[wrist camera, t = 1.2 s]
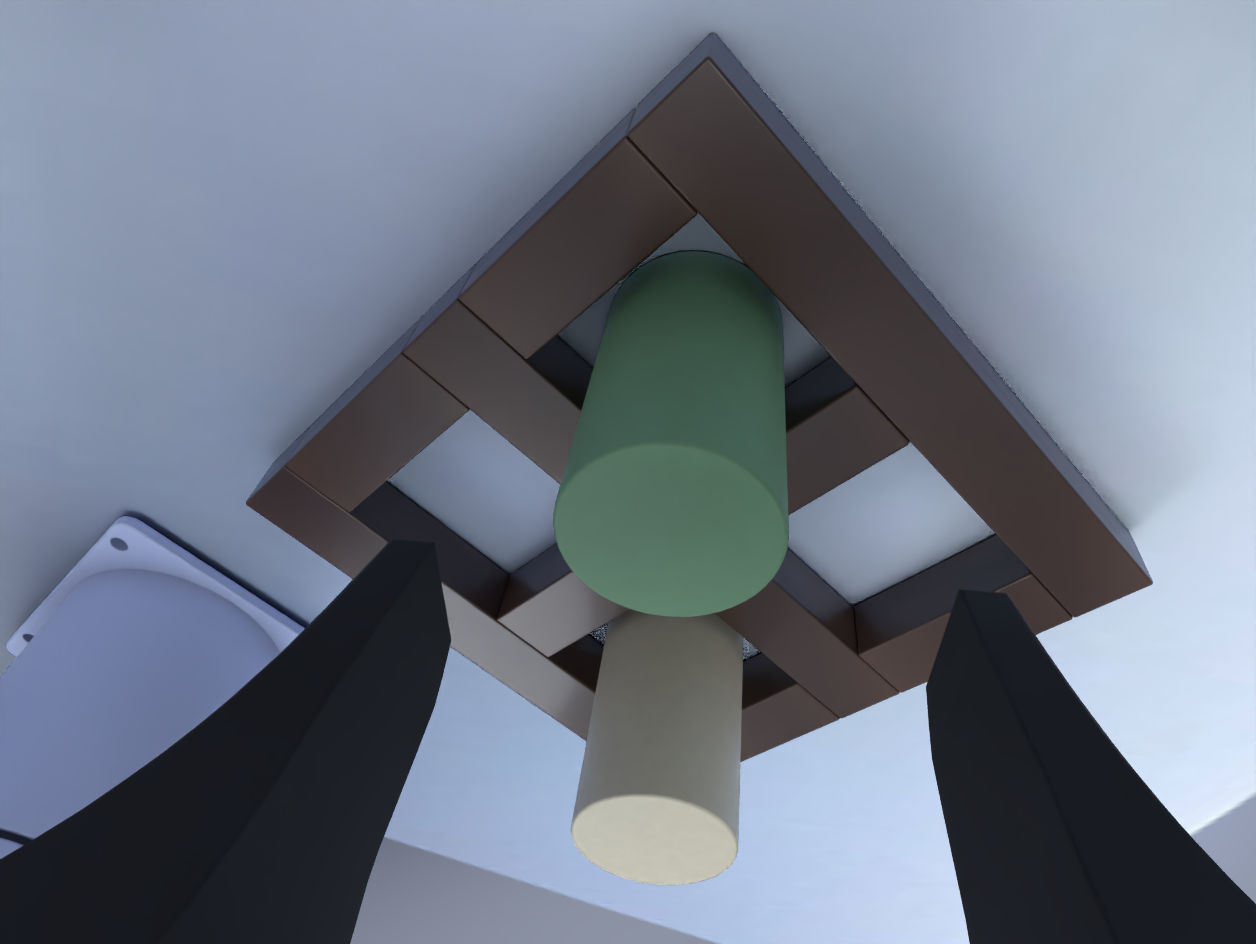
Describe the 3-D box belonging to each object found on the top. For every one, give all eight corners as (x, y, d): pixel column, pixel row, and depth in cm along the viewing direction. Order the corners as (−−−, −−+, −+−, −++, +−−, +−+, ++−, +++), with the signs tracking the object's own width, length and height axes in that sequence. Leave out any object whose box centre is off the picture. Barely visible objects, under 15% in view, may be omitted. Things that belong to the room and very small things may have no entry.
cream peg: (672, 683, 29) (650, 901, 23) (582, 614, 27) (536, 829, 22) (771, 632, 27) (773, 857, 21) (680, 554, 25) (656, 775, 20)
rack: (668, 748, 31) (664, 796, 29) (273, 462, 25) (244, 504, 23) (1131, 533, 23) (1154, 584, 21) (713, 29, 17) (708, 55, 15)
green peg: (688, 431, 22) (663, 647, 17) (572, 323, 21) (504, 523, 15) (818, 339, 20) (838, 552, 15) (701, 212, 19) (676, 397, 13)
